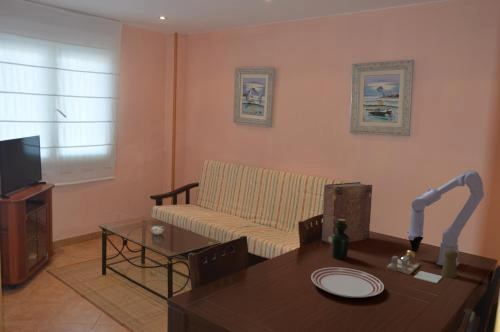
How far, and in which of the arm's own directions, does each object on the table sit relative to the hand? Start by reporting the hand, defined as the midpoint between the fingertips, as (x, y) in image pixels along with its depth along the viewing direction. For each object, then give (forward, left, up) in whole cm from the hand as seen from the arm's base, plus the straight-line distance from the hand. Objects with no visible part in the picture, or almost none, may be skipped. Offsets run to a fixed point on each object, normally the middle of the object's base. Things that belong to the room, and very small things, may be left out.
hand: (414, 251), depth 199 cm
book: (-5, -37, -4) cm, 38 cm away
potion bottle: (+23, -27, -4) cm, 36 cm away
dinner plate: (+53, -9, -4) cm, 54 cm away
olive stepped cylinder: (+11, +18, -4) cm, 21 cm away
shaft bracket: (+15, 0, -3) cm, 15 cm away
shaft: (+11, 0, -2) cm, 12 cm away
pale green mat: (+20, +12, -3) cm, 24 cm away
